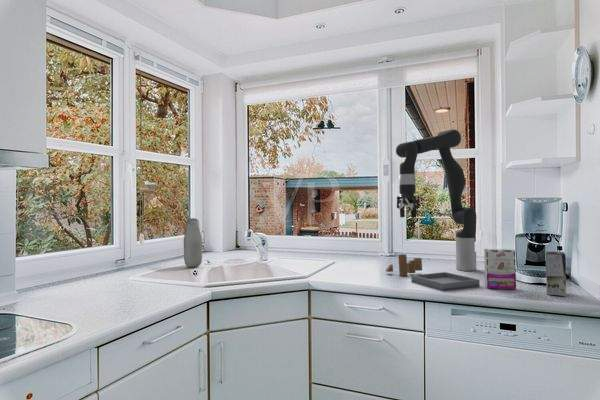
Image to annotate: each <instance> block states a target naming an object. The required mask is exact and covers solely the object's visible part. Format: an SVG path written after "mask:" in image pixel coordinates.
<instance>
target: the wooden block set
mask: <svg viewBox="0 0 600 400" xmlns="http://www.w3.org/2000/svg"><path fill="white" fill-rule="evenodd" d="M407 258H408V257H407V254H406V253H399V254H398V258H397V259H398V272H399V276H401V277H402V276H403V277H406V276H408V274H416V271H417V272H421V271H423V261H422V258H421V257H414V258H413V260H407ZM385 272H387V273H389V272H390V273H391V272H394V265H393V264H392V263H391V264H389V265H388V267H387V268H386V269H385Z"/></svg>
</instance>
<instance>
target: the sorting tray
mask: <svg viewBox="0 0 600 400" xmlns="http://www.w3.org/2000/svg"><path fill="white" fill-rule="evenodd" d="M410 277H411V283H414V284H417V285H421V286H424V287H429V288H432V289H435V290H438V291H441V292H446V291H454V290H455V291H456V290H464V289H470V288H471V289H472V288H479V287H480V279H478V278H474V277H469V276H464V275H460V274H456V273H452V272H446V271H443V272H440V271H439V272H432V273H421V274H412V275H411V276H410Z"/></svg>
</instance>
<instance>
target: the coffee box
mask: <svg viewBox="0 0 600 400" xmlns="http://www.w3.org/2000/svg"><path fill="white" fill-rule="evenodd" d="M566 255H567V254H565V252H564V251H545V270H546V272H545V281H546V294H547V295H552V296H562V297H565V296H566V295H567V267H566V266H567V261H566V260H567V259H566V257H567V256H566Z"/></svg>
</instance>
